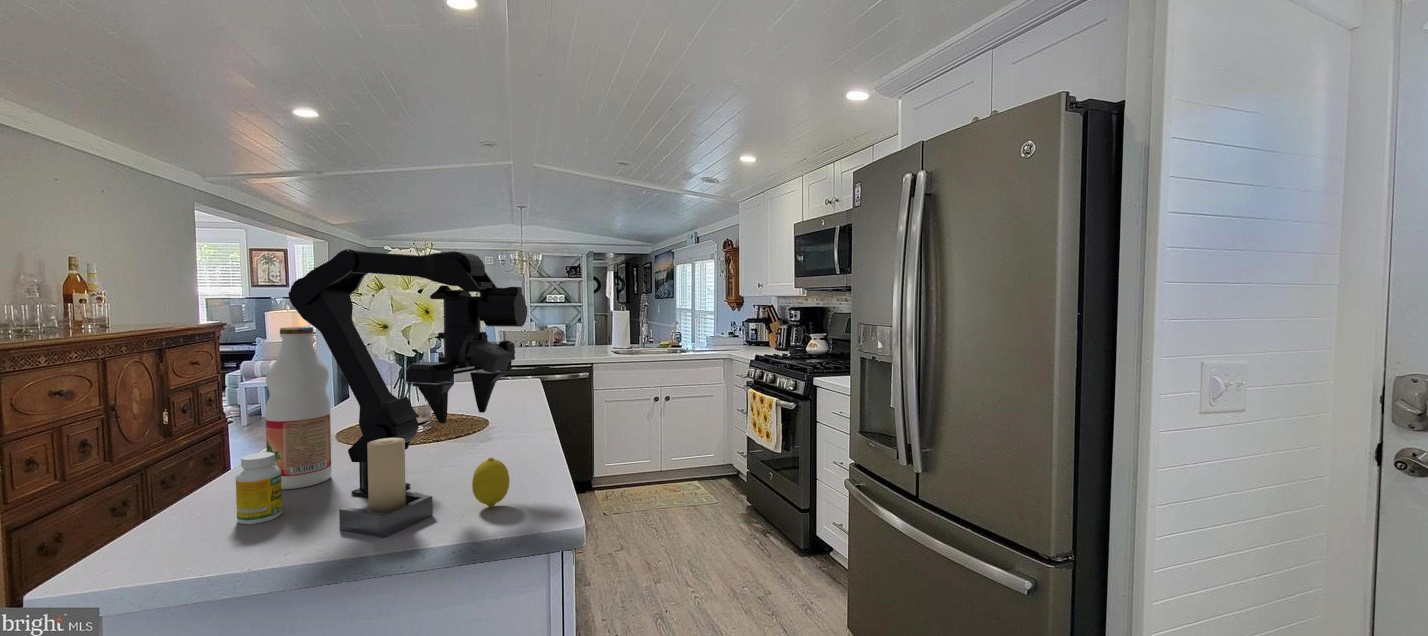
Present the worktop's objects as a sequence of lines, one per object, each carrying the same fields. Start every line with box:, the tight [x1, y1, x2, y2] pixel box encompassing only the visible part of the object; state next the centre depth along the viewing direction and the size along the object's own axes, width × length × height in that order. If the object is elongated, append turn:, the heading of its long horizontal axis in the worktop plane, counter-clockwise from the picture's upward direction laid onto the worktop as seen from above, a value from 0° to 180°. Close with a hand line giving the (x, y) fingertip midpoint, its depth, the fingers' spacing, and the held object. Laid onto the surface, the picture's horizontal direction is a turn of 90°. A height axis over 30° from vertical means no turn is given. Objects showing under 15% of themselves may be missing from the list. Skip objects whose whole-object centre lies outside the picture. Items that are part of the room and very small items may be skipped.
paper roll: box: [367, 438, 407, 513], centre depth 84 cm, size 5×5×12 cm
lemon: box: [471, 457, 510, 508], centre depth 90 cm, size 6×6×8 cm
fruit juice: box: [265, 326, 332, 490], centre depth 102 cm, size 9×9×28 cm
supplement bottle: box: [235, 451, 283, 525], centre depth 85 cm, size 5×5×10 cm
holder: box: [338, 492, 434, 539], centre depth 84 cm, size 8×8×3 cm
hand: (463, 417), depth 97 cm, fingers open, 9 cm apart
